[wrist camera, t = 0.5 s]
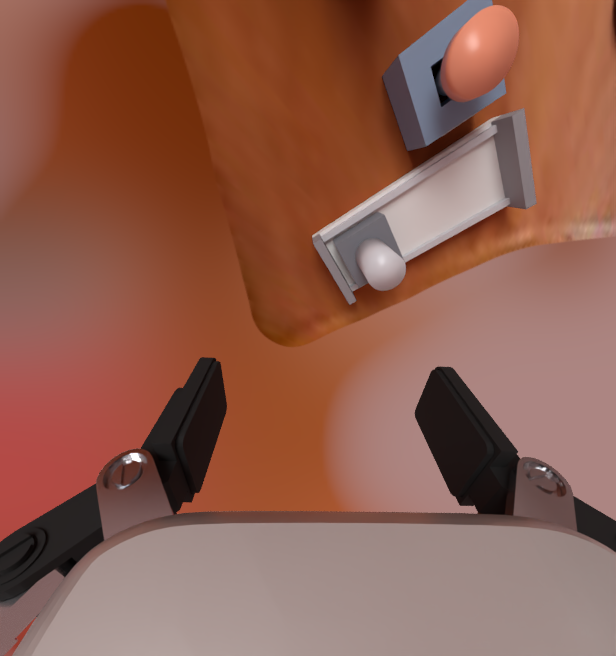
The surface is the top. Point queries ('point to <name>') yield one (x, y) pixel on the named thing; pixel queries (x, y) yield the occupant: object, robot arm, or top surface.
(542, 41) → the top surface
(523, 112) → the rail
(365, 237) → the carriage
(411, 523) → the robot arm
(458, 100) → the knob
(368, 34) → the top surface
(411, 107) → the box
